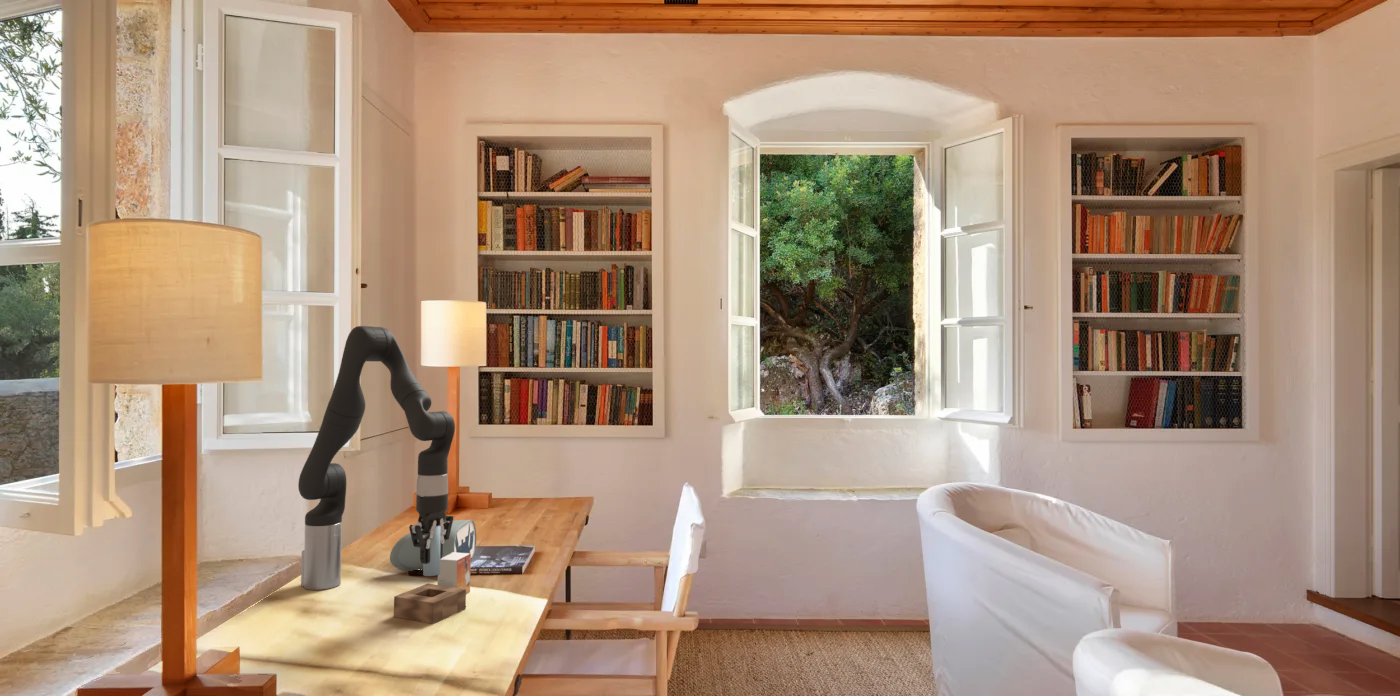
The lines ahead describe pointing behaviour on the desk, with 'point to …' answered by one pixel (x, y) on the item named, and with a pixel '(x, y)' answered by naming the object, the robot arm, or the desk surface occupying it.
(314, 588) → the robot arm
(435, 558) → the peg
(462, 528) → the pencil case
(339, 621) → the desk surface
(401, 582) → the desk surface
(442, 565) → the small box
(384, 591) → the desk surface
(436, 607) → the socket block
